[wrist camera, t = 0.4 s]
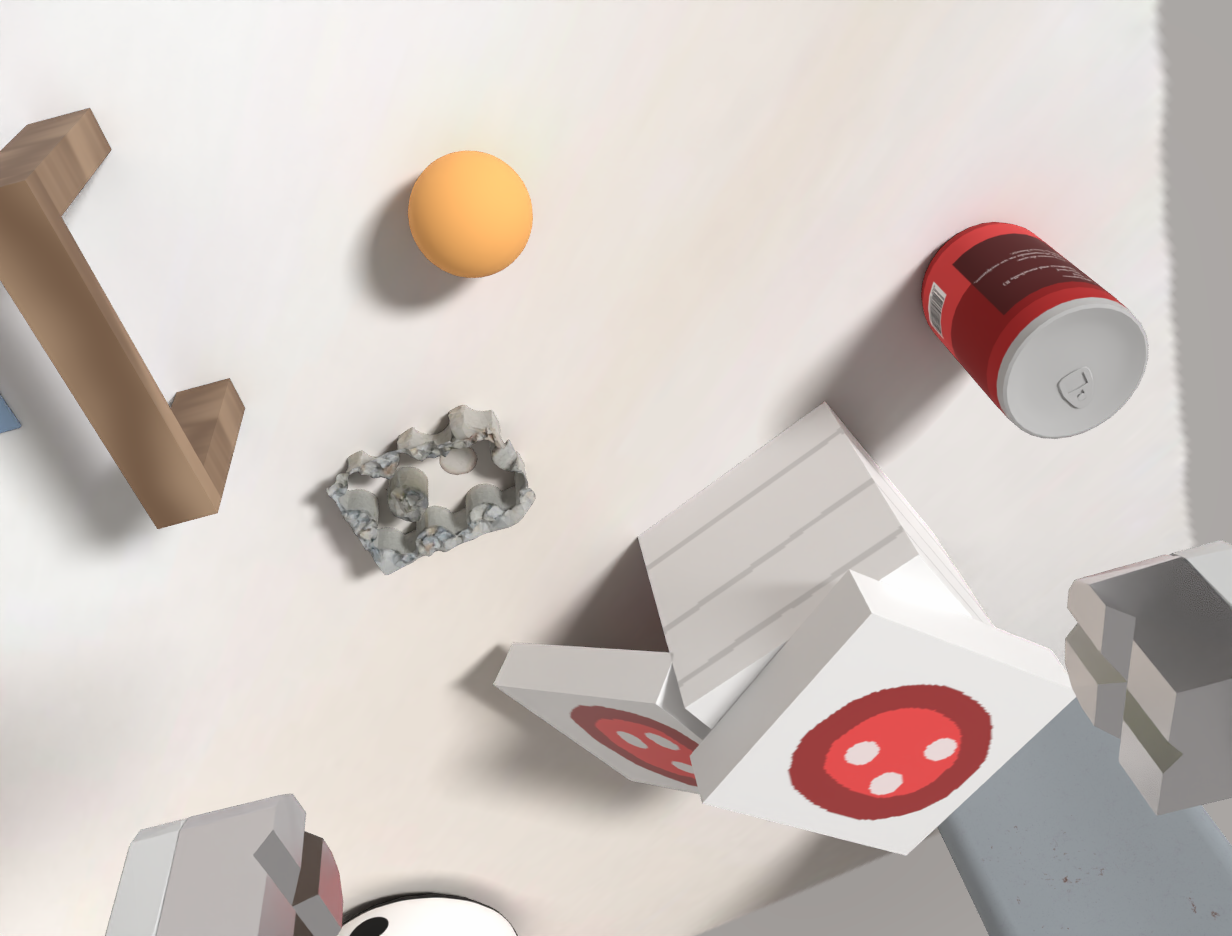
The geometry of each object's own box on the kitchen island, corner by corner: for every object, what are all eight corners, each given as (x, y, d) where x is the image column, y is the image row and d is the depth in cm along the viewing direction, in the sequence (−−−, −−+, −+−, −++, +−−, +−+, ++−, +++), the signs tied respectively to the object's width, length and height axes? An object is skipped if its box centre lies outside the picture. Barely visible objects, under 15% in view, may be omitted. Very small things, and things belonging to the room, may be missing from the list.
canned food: (967, 363, 64) (1056, 464, 55) (888, 290, 60) (970, 386, 51) (1068, 272, 61) (1179, 363, 52) (993, 190, 57) (1098, 272, 48)
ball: (391, 152, 51) (388, 195, 46) (509, 120, 51) (518, 160, 46) (430, 261, 54) (431, 312, 50) (540, 231, 54) (551, 279, 50)
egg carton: (489, 387, 60) (494, 425, 57) (538, 482, 64) (545, 522, 61) (321, 454, 61) (316, 495, 57) (381, 544, 65) (379, 587, 62)
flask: (910, 773, 87) (1058, 1086, 67) (898, 741, 84) (1049, 1058, 64) (1109, 697, 85) (1324, 995, 65) (1103, 662, 82) (1326, 962, 62)
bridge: (193, 422, 58) (157, 529, 50) (27, 124, 48) (-50, 200, 40) (245, 407, 58) (217, 512, 50) (89, 107, 48) (25, 180, 40)
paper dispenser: (470, 629, 70) (484, 863, 55) (838, 360, 62) (967, 550, 47) (641, 753, 80) (690, 979, 65) (975, 535, 72) (1117, 736, 58)
